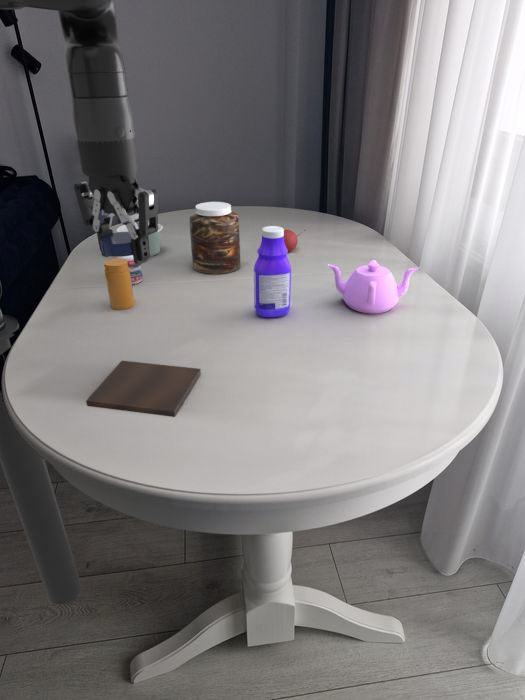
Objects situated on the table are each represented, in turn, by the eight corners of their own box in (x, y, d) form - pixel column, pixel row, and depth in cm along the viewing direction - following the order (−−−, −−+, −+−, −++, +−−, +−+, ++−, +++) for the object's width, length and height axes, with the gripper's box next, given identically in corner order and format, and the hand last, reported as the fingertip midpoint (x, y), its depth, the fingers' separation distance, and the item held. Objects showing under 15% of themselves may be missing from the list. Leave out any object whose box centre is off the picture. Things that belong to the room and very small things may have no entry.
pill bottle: (132, 286, 117) (126, 249, 113) (115, 282, 120) (109, 245, 115) (147, 279, 121) (142, 242, 117) (131, 275, 124) (125, 239, 119)
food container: (172, 253, 137) (170, 229, 134) (130, 262, 131) (126, 237, 128) (154, 242, 146) (151, 219, 142) (113, 250, 140) (109, 226, 137)
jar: (233, 256, 135) (231, 198, 127) (245, 271, 125) (244, 209, 117) (189, 261, 131) (184, 202, 124) (198, 277, 122) (193, 214, 114)
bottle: (286, 305, 107) (287, 223, 99) (293, 316, 102) (294, 231, 94) (252, 308, 106) (250, 225, 97) (257, 320, 101) (256, 234, 92)
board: (86, 406, 77) (85, 400, 76) (122, 365, 87) (121, 360, 86) (175, 417, 74) (174, 411, 74) (201, 373, 84) (200, 368, 84)
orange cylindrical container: (106, 308, 107) (98, 265, 102) (117, 299, 111) (110, 256, 106) (128, 310, 106) (121, 266, 101) (138, 301, 110) (132, 258, 105)
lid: (153, 247, 75) (152, 235, 74) (123, 259, 70) (121, 246, 70) (123, 241, 78) (122, 229, 77) (93, 252, 73) (90, 239, 72)
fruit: (295, 260, 137) (310, 233, 135) (277, 251, 135) (292, 224, 132) (287, 252, 142) (302, 226, 140) (270, 244, 140) (284, 218, 137)
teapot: (413, 307, 106) (419, 266, 101) (361, 323, 100) (364, 280, 95) (375, 288, 115) (379, 249, 110) (324, 301, 109) (326, 261, 104)
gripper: (167, 134, 66) (179, 259, 74) (90, 129, 73) (109, 244, 81) (124, 141, 60) (143, 276, 69) (45, 135, 67) (71, 258, 75)
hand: (124, 258), depth 75 cm, fingers closed on lid, 6 cm apart
